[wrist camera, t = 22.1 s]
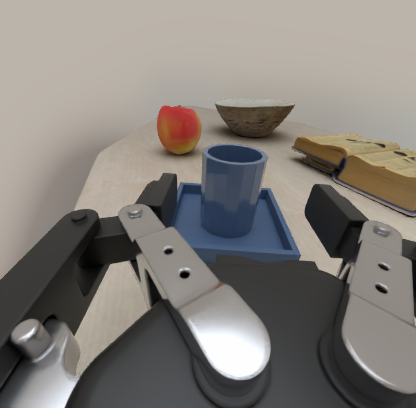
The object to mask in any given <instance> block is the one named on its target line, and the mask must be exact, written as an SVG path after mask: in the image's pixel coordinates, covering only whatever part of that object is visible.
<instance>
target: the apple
mask: <svg viewBox="0 0 416 408" xmlns="http://www.w3.org/2000/svg"><path fill="white" fill-rule="evenodd" d="M157 130H158V136H159V139H160V141H161V143H162V144H163V146H164V147H165V148H166V149H167V150H169V151H170V152H172V153H174V154H178V155H179V154H184V153H187V152H189V151H191V150H192V149H194V147H195V146H196V145H197V143H198V141H199V139H200V136H201V130H202V128H201V122H200V119H199V117H198V115H197V113H196V112H195V111H194V110H192V109H187V108H184V107H180V105H179V107H170V106H163V107H162V108H161V109H160V111H159V115H158V120H157Z"/></svg>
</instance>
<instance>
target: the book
mask: <svg viewBox="0 0 416 408" xmlns="http://www.w3.org/2000/svg"><path fill="white" fill-rule="evenodd" d="M292 149H293V150H294V151H297V152H299V153H302V154H305V155H306V156H307V157H306V159H304V160H303V162H305V163H308V164H309V165H311V166H313V167H316V168H318V169H320V170H322V171H324V172H327V173H330V174H332V178H333V180H334V181H336V182H337V183H339V184H341V185H343V186H345V187H348V188H349V189H351V190H353V191H355V192H358V193H360V194H362V195H364V196H366V197H368V198H370V199H374V200H375V201H377V202H380V203H381V204H384V205H387V206H389V207H391V208H393V209H395V210H397V211H400V212H403V213H404V214H407V215H410V216H416V152H415V151H413V150H409V149H401V150H400V147H399V145H398V144H397V143H392V142H384V141H373V140H369V139H364V138H362V137H360V136H358V135H354V134H345V135H336V136H312V137H299V138H297V139H296V141H295V144H294V146H292ZM335 168H337V169H339V170H335ZM337 172H338V173H337Z"/></svg>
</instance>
